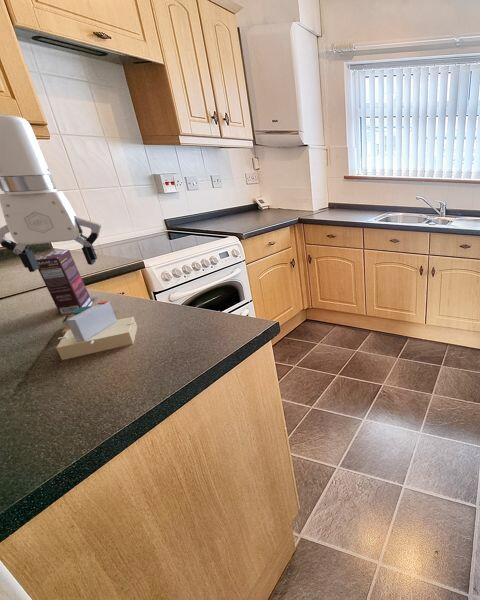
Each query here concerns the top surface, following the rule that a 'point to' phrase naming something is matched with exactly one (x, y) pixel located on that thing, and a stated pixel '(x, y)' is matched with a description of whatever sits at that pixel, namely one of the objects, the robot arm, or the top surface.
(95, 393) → the top surface
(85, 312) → the pale blue rectangular brick
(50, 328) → the top surface
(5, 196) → the robot arm
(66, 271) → the supplement box
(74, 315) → the button
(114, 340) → the low beige pedestal
